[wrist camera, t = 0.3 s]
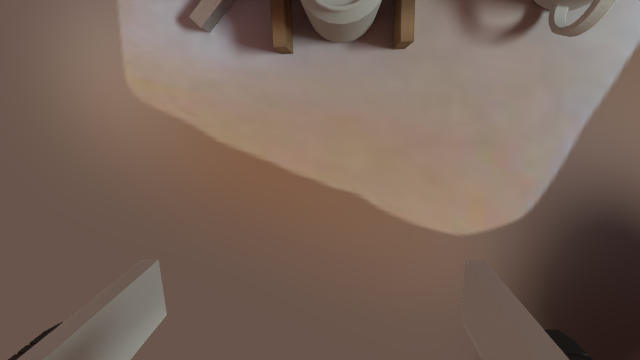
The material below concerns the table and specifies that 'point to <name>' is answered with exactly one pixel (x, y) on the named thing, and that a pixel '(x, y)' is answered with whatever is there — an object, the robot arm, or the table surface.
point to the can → (341, 17)
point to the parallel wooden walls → (283, 24)
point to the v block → (210, 13)
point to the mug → (561, 3)
